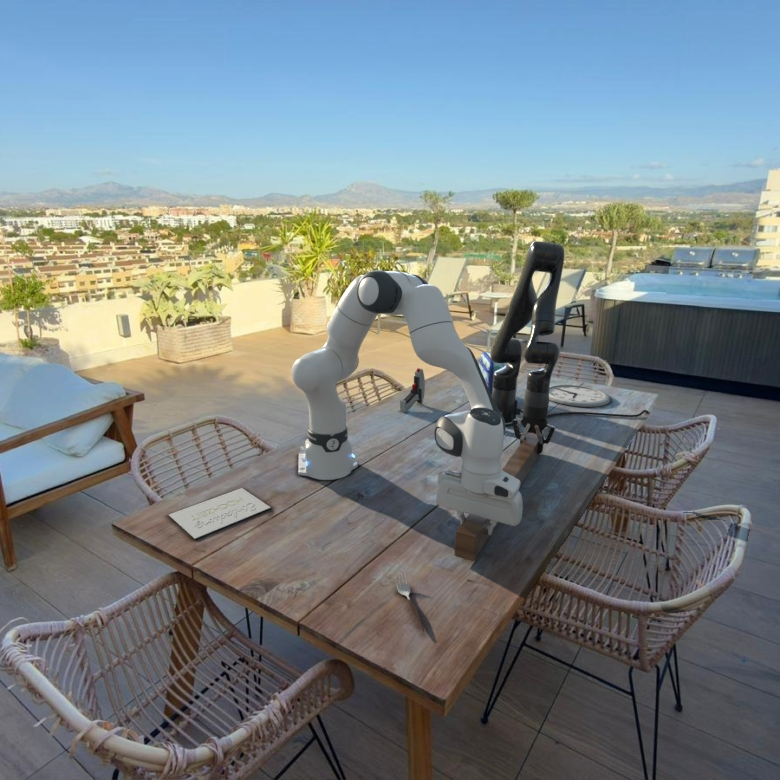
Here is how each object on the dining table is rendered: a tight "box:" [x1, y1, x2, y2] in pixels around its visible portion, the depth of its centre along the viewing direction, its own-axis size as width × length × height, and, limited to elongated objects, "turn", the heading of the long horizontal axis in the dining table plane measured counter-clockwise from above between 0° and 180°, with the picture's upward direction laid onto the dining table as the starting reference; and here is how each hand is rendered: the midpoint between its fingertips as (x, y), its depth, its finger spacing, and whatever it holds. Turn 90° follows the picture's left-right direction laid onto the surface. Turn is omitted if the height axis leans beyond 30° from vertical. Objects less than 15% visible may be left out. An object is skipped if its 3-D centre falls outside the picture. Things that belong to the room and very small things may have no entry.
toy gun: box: [399, 367, 426, 413], centre depth 218 cm, size 2×16×15 cm
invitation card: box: [168, 487, 271, 540], centre depth 138 cm, size 21×1×15 cm
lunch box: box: [478, 351, 507, 396], centre depth 230 cm, size 26×11×21 cm, turn 179°
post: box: [454, 431, 545, 562], centre depth 148 cm, size 72×5×6 cm, turn 152°
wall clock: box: [549, 384, 611, 408], centre depth 239 cm, size 30×2×30 cm
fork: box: [394, 572, 425, 632], centre depth 105 cm, size 3×16×2 cm, turn 15°
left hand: (476, 530), depth 125 cm, fingers closed on post, 4 cm apart
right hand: (530, 451), depth 172 cm, fingers closed on post, 4 cm apart
